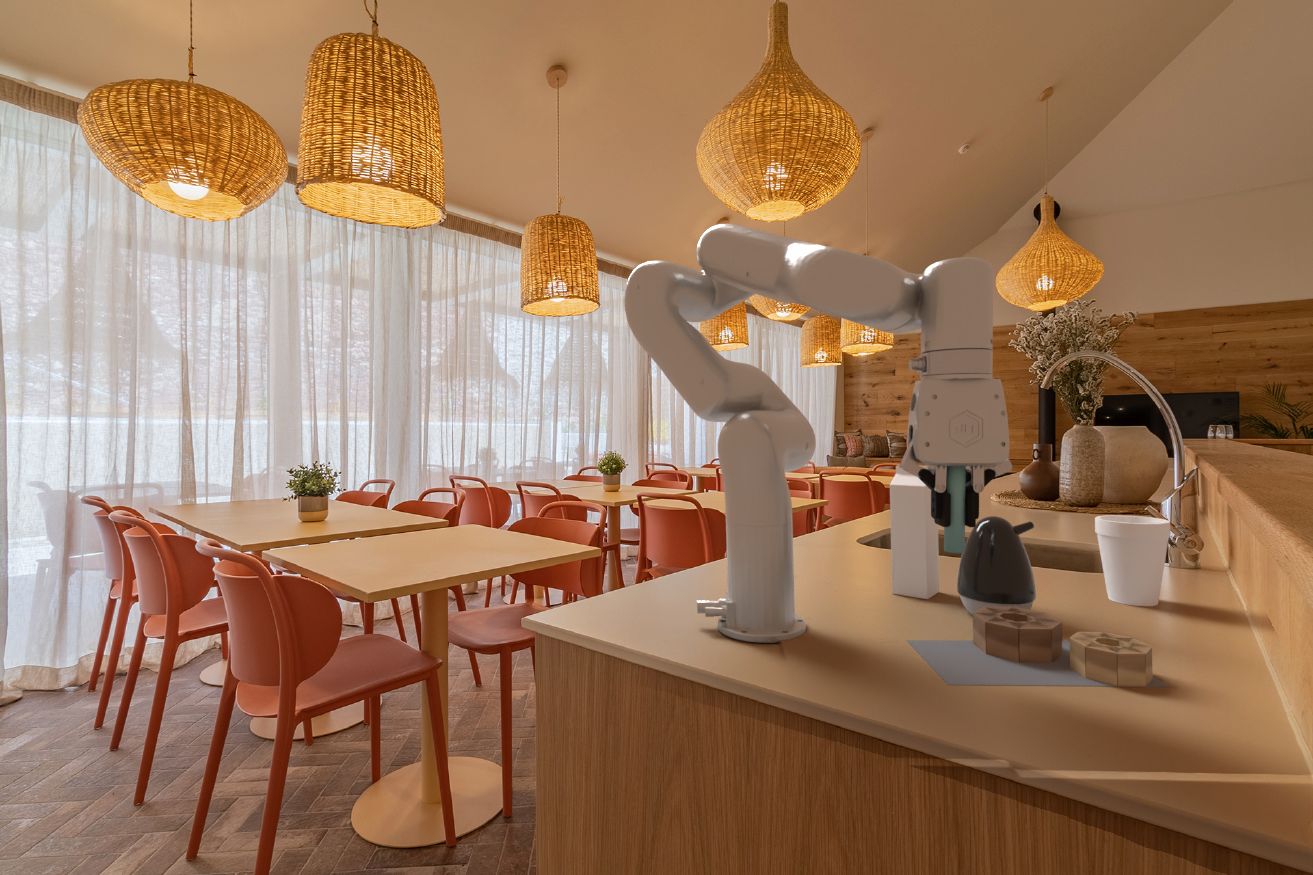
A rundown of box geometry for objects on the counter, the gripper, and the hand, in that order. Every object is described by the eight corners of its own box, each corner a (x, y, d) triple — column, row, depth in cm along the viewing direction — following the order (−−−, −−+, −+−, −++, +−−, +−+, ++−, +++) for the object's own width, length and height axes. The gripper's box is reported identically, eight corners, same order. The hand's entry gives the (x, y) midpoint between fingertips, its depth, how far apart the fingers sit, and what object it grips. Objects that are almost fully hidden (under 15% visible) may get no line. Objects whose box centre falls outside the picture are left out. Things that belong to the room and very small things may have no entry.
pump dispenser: (1050, 630, 84) (1048, 521, 84) (969, 628, 86) (967, 521, 86) (1021, 609, 94) (1020, 511, 94) (949, 607, 96) (947, 511, 96)
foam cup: (1166, 597, 99) (1165, 517, 99) (1176, 612, 91) (1175, 525, 91) (1094, 590, 104) (1093, 514, 104) (1098, 603, 96) (1097, 521, 96)
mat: (948, 689, 67) (948, 684, 67) (906, 644, 81) (906, 640, 81) (1171, 690, 65) (1171, 686, 65) (1089, 644, 79) (1089, 640, 79)
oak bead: (1097, 685, 66) (1096, 653, 66) (1059, 660, 73) (1059, 631, 72) (1166, 686, 65) (1166, 653, 65) (1122, 661, 72) (1121, 631, 72)
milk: (927, 600, 101) (925, 467, 100) (891, 593, 105) (888, 466, 104) (939, 591, 105) (937, 464, 105) (904, 586, 109) (902, 463, 109)
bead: (996, 662, 73) (995, 628, 73) (964, 636, 82) (963, 606, 82) (1075, 662, 72) (1075, 628, 72) (1034, 636, 81) (1034, 606, 81)
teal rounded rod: (948, 553, 71) (948, 449, 70) (940, 548, 73) (941, 448, 73) (968, 553, 70) (969, 449, 70) (960, 549, 73) (961, 448, 72)
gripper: (895, 366, 68) (894, 530, 69) (1045, 364, 67) (1043, 531, 67) (876, 371, 75) (876, 519, 76) (1011, 370, 74) (1009, 520, 75)
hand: (954, 523), depth 72 cm, fingers closed on teal rounded rod, 2 cm apart
